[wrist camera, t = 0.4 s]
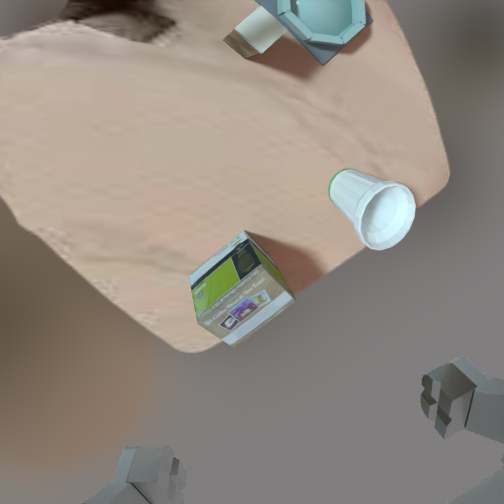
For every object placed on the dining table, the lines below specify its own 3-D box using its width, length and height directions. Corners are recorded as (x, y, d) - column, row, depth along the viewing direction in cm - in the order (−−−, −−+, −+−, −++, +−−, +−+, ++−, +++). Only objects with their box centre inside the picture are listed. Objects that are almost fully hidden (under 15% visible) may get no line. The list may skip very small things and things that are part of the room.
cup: (352, 146, 57) (400, 168, 44) (379, 189, 64) (424, 217, 51) (307, 187, 59) (346, 219, 47) (339, 226, 66) (377, 263, 53)
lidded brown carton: (222, 40, 42) (234, 28, 33) (243, 20, 41) (261, 5, 31) (244, 59, 45) (262, 52, 35) (265, 40, 43) (288, 29, 34)
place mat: (250, -4, 39) (251, -4, 38) (309, -46, 35) (310, -47, 35) (321, 65, 48) (322, 65, 47) (372, 20, 44) (373, 19, 44)
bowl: (256, -1, 39) (262, -6, 36) (314, -43, 35) (322, -48, 32) (319, 60, 47) (327, 59, 44) (369, 16, 43) (379, 13, 40)
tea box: (220, 301, 68) (232, 350, 56) (188, 275, 63) (194, 324, 51) (273, 258, 66) (298, 302, 54) (244, 228, 61) (264, 269, 48)
